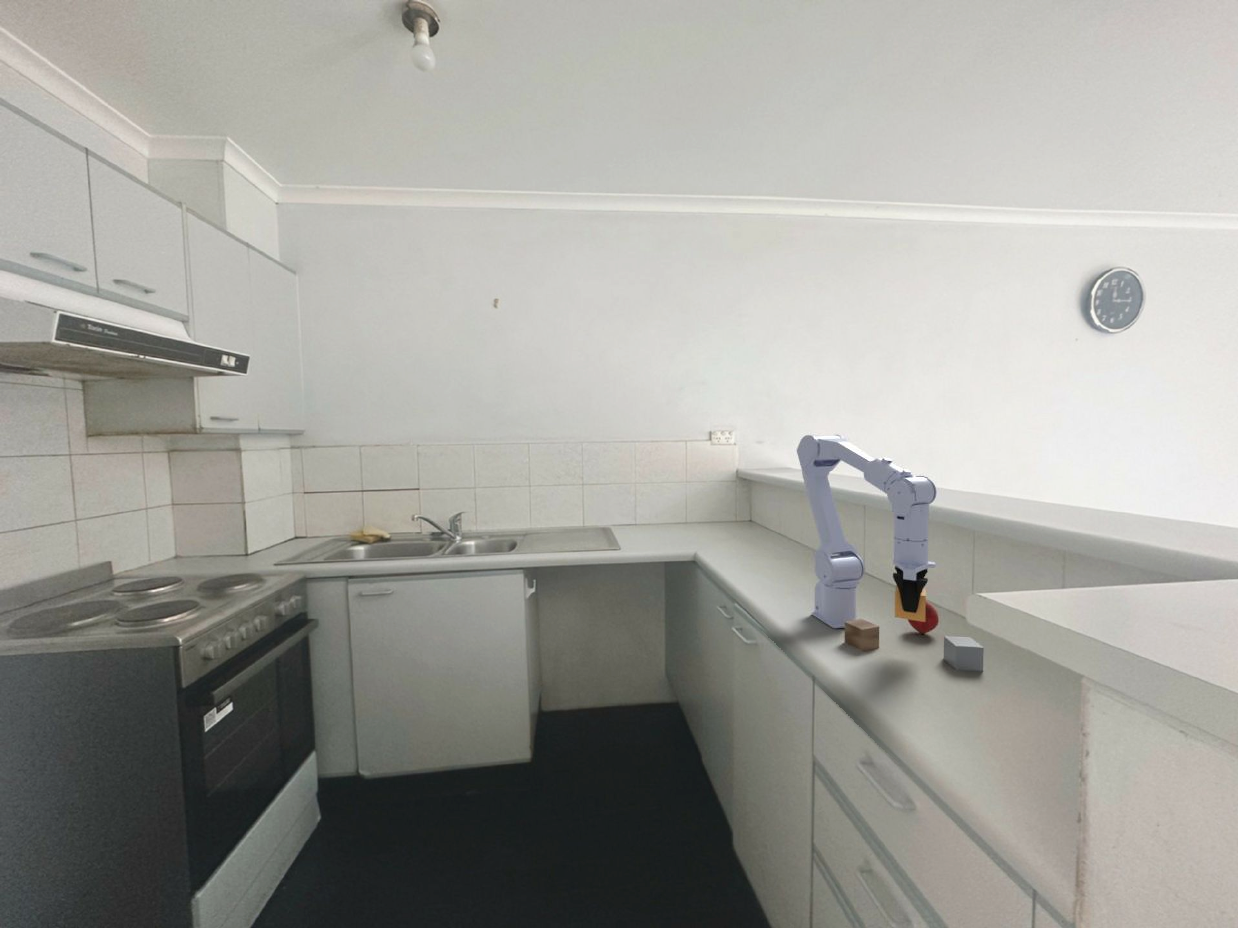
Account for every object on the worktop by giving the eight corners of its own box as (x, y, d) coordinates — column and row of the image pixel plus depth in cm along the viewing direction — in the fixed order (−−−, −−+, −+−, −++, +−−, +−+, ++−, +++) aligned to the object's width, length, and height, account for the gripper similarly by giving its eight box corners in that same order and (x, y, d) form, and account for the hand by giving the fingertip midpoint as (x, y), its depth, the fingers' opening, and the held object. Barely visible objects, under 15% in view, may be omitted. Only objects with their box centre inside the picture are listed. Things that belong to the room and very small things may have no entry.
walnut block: (844, 642, 99) (844, 621, 99) (860, 639, 101) (861, 618, 101) (862, 651, 95) (862, 629, 95) (879, 647, 97) (879, 626, 97)
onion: (943, 640, 100) (944, 602, 99) (913, 638, 101) (913, 601, 100) (931, 629, 105) (931, 593, 105) (902, 627, 106) (902, 592, 106)
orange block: (896, 609, 97) (896, 584, 96) (925, 613, 94) (925, 588, 94) (894, 617, 92) (895, 591, 92) (925, 621, 90) (925, 595, 89)
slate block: (943, 658, 92) (943, 635, 91) (969, 660, 91) (970, 637, 90) (955, 669, 87) (955, 645, 87) (983, 671, 86) (983, 647, 86)
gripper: (936, 548, 84) (935, 623, 85) (934, 533, 96) (934, 599, 97) (890, 543, 88) (890, 615, 89) (894, 530, 100) (894, 594, 101)
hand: (910, 607), depth 93 cm, fingers closed on orange block, 5 cm apart
